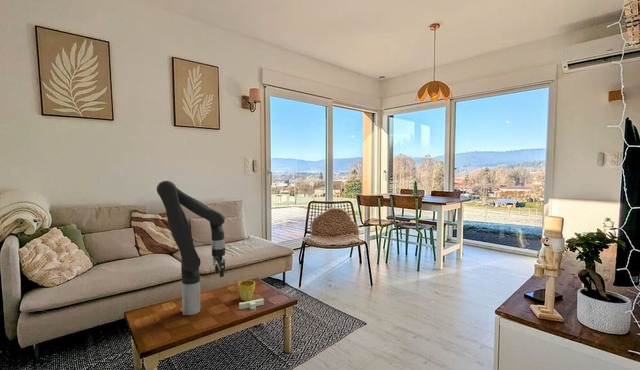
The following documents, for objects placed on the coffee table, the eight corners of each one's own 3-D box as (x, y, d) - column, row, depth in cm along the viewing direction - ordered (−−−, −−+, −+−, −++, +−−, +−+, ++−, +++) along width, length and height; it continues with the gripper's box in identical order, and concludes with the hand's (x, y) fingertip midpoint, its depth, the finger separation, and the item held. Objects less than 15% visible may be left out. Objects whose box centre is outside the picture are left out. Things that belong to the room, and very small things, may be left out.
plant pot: (252, 302, 186) (252, 286, 185) (235, 301, 186) (235, 286, 185) (256, 295, 196) (256, 280, 195) (240, 294, 196) (240, 279, 196)
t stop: (241, 311, 174) (241, 306, 173) (239, 308, 178) (239, 302, 178) (265, 306, 180) (265, 301, 180) (262, 303, 184) (262, 298, 184)
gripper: (208, 246, 182) (209, 273, 182) (215, 250, 170) (216, 279, 171) (221, 244, 186) (222, 270, 187) (228, 248, 174) (230, 276, 175)
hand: (219, 274), depth 179 cm, fingers open, 8 cm apart
